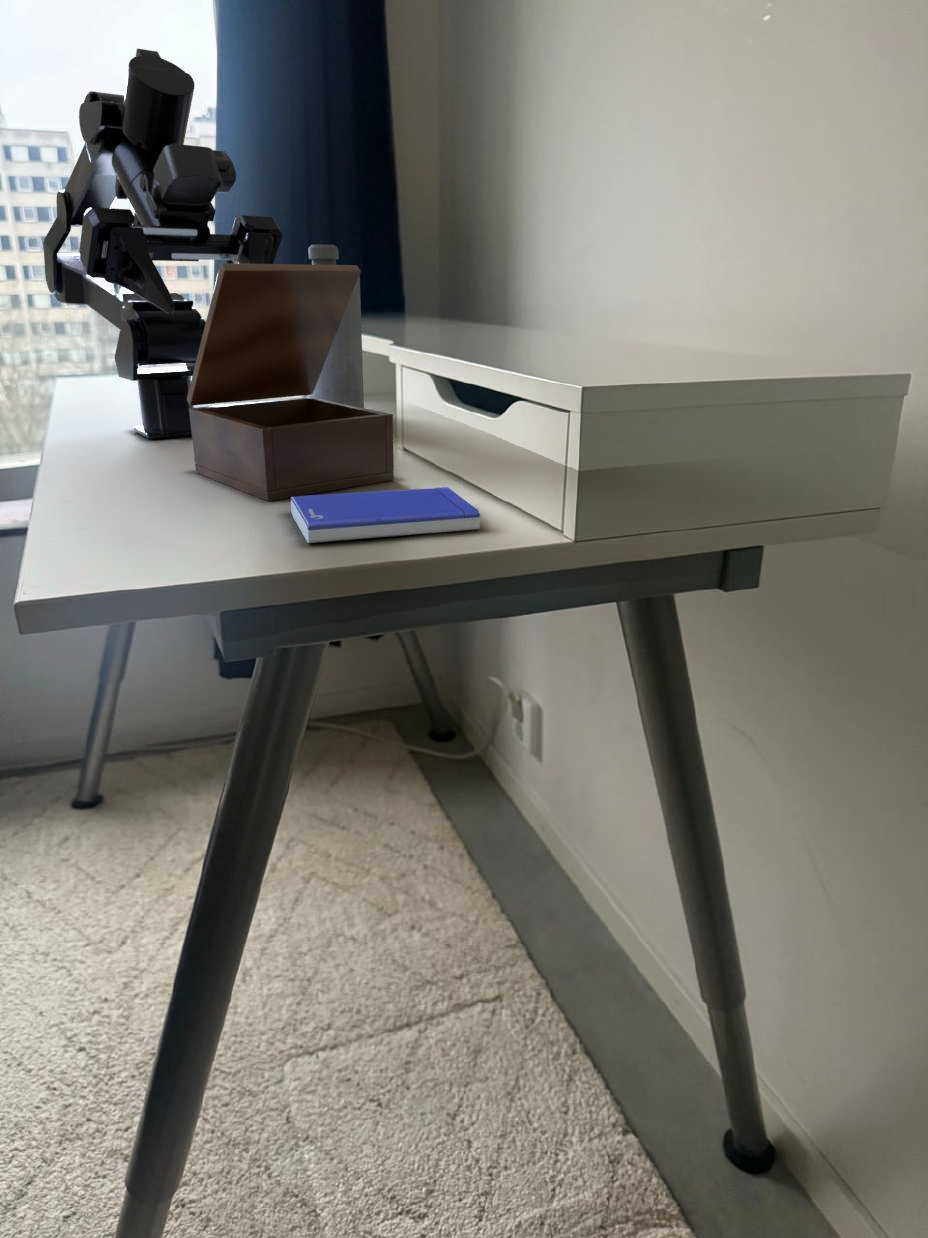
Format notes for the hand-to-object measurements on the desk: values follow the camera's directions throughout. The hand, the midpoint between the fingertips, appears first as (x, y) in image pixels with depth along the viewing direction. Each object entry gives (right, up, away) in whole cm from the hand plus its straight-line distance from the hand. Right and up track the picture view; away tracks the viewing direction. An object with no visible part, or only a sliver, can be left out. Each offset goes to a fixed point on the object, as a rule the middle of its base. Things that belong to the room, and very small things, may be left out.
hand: (219, 308), depth 81 cm
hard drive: (+17, -22, -17) cm, 32 cm away
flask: (+6, -4, +29) cm, 29 cm away
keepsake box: (+8, -16, -3) cm, 18 cm away
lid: (+6, -5, -6) cm, 10 cm away
